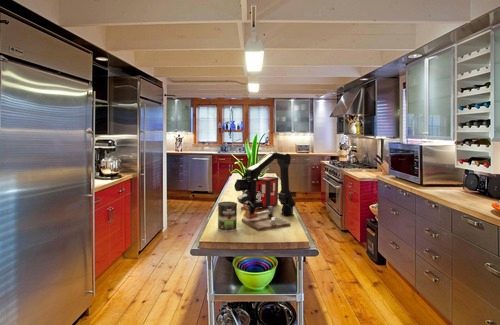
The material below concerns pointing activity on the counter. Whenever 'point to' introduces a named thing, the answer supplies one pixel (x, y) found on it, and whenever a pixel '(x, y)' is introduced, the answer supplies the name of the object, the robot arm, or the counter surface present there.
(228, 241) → the counter surface
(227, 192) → the counter surface
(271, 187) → the cleaning product box
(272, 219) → the grey brown rectangular block
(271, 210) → the lever
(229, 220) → the coffee can
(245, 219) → the base
